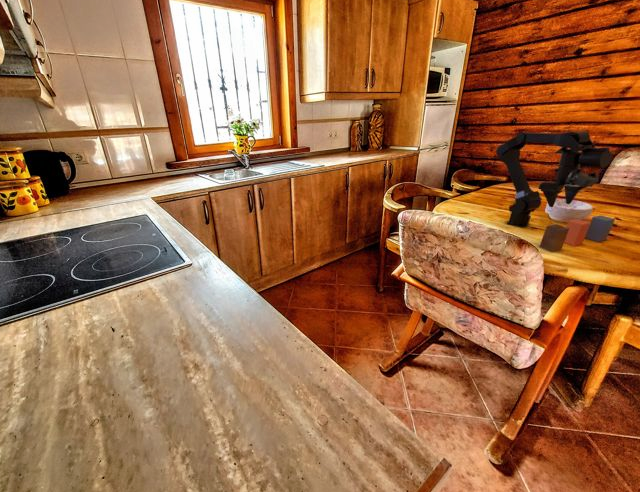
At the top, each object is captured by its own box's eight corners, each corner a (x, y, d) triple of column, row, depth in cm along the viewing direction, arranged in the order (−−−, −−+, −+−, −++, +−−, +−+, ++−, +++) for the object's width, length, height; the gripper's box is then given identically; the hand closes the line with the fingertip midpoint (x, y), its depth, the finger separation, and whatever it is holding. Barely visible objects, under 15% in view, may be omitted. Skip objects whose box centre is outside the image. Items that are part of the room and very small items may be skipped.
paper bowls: (551, 224, 126) (557, 207, 123) (537, 213, 139) (542, 197, 136) (594, 227, 121) (602, 210, 118) (575, 215, 134) (582, 199, 131)
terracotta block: (560, 241, 111) (568, 220, 107) (568, 239, 112) (576, 218, 108) (573, 246, 107) (582, 224, 103) (582, 244, 108) (590, 222, 104)
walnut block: (539, 246, 108) (546, 225, 104) (548, 245, 108) (556, 224, 105) (551, 252, 104) (560, 230, 100) (561, 250, 104) (569, 228, 101)
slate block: (583, 237, 113) (592, 216, 109) (591, 235, 114) (600, 215, 110) (597, 241, 109) (607, 220, 105) (605, 240, 110) (615, 219, 106)
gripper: (576, 169, 97) (566, 212, 101) (614, 164, 101) (602, 206, 106) (541, 167, 107) (533, 206, 112) (576, 163, 111) (567, 201, 116)
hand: (559, 205), depth 111 cm, fingers open, 9 cm apart
